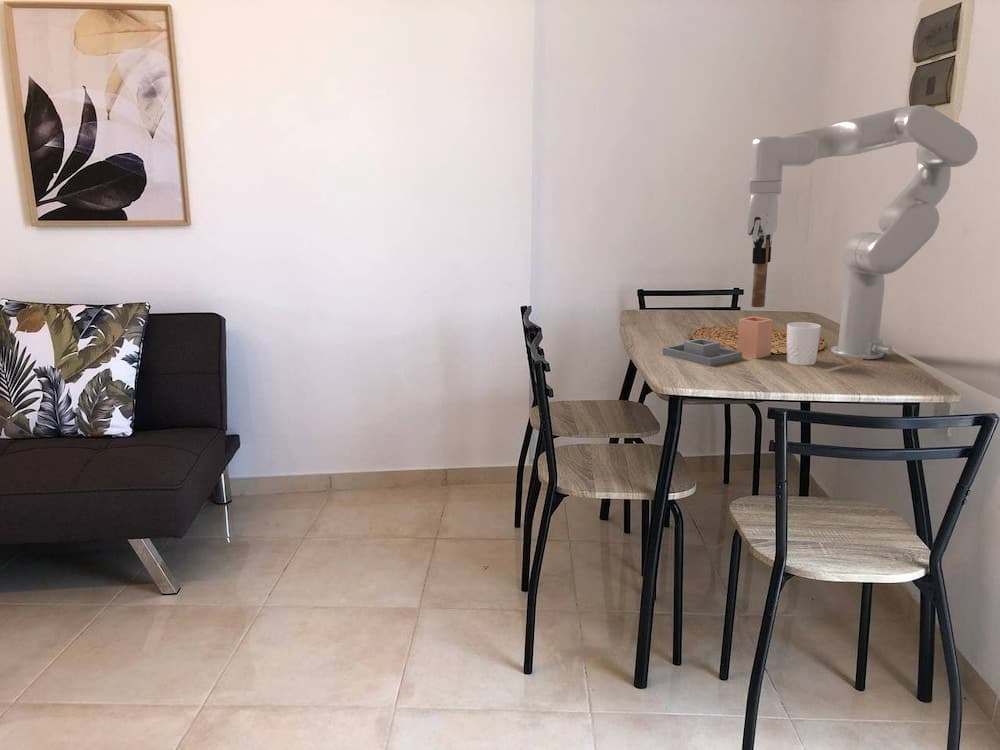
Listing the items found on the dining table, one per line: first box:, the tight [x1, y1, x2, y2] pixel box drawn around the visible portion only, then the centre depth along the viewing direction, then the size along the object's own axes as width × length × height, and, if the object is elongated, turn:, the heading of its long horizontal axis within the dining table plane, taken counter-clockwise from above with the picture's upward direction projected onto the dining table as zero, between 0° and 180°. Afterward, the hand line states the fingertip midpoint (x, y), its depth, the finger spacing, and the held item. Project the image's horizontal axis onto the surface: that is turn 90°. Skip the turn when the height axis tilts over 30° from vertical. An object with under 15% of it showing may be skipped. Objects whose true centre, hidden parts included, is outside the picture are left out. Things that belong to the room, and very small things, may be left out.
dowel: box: [750, 239, 769, 308], centre depth 199 cm, size 3×3×17 cm
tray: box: [662, 337, 743, 367], centre depth 203 cm, size 16×12×4 cm
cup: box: [736, 316, 774, 359], centre depth 204 cm, size 6×6×10 cm
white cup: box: [785, 321, 822, 366], centre depth 196 cm, size 8×8×10 cm
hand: (761, 262), depth 199 cm, fingers closed on dowel, 3 cm apart
